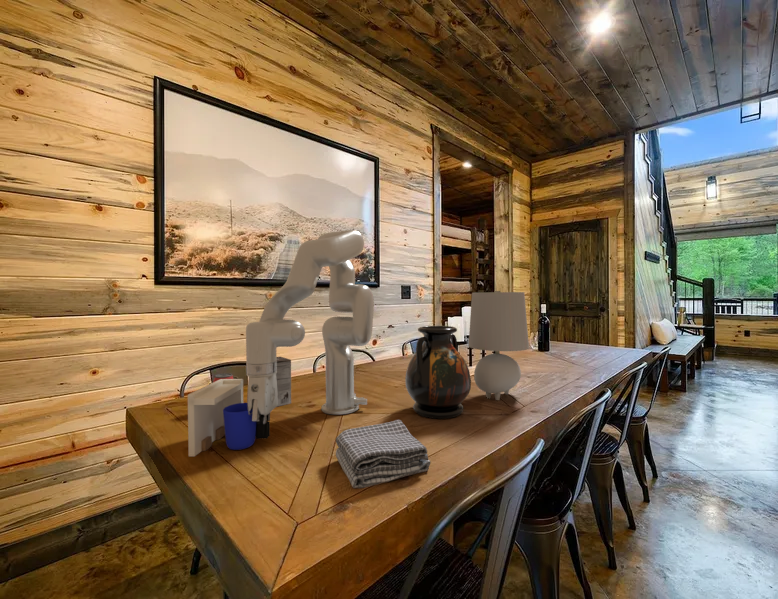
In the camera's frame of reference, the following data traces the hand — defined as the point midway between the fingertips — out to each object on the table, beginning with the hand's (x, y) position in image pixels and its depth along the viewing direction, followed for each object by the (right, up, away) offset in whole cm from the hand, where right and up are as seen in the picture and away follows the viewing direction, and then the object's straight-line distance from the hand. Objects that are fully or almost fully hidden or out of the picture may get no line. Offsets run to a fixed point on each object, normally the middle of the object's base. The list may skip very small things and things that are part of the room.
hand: (262, 437), depth 92 cm
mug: (-4, -2, 0) cm, 4 cm away
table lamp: (+75, 0, +39) cm, 85 cm away
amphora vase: (+50, -1, +23) cm, 55 cm away
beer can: (-23, -2, +27) cm, 36 cm away
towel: (+32, -2, -14) cm, 35 cm away
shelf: (-12, -1, 0) cm, 12 cm away
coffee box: (-7, -1, +35) cm, 36 cm away
